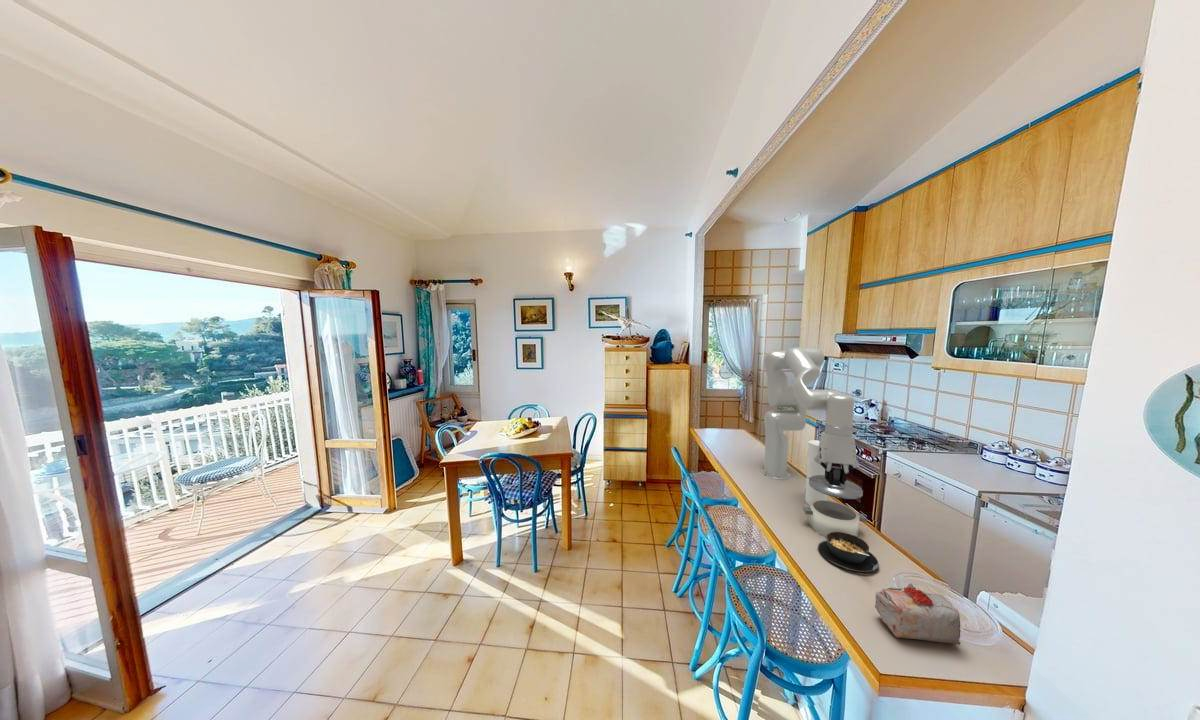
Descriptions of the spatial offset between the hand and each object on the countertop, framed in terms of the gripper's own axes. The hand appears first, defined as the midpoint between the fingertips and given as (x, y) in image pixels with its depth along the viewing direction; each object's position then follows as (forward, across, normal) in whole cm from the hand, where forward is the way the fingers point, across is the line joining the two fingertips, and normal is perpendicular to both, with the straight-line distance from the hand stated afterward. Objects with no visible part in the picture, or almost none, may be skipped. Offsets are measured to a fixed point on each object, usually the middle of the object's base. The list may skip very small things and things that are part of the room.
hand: (835, 481), depth 115 cm
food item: (+18, -3, +40) cm, 44 cm away
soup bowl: (+18, +2, +16) cm, 24 cm away
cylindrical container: (+17, 0, -18) cm, 25 cm away
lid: (+2, 0, 0) cm, 2 cm away
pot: (+17, 0, 0) cm, 17 cm away
